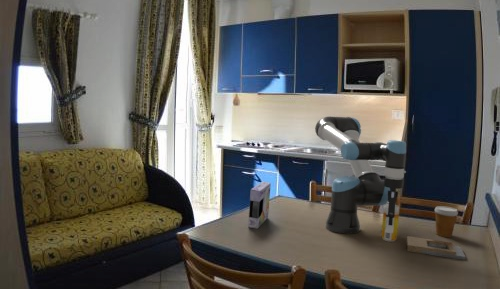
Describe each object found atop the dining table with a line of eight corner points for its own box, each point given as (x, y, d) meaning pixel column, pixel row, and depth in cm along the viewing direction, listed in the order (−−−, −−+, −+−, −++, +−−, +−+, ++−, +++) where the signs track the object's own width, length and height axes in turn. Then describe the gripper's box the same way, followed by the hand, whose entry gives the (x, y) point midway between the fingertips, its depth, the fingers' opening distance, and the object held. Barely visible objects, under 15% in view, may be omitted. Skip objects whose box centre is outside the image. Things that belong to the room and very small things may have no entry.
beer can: (397, 238, 166) (399, 204, 165) (395, 243, 161) (398, 207, 159) (382, 236, 169) (384, 202, 167) (380, 240, 163) (383, 205, 162)
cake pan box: (257, 229, 170) (259, 190, 168) (246, 228, 172) (248, 188, 170) (269, 218, 188) (271, 182, 186) (259, 217, 190) (261, 181, 188)
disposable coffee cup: (458, 239, 169) (461, 212, 168) (435, 237, 171) (437, 210, 170) (452, 232, 178) (454, 207, 177) (429, 230, 180) (432, 205, 179)
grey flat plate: (421, 253, 150) (422, 250, 150) (420, 243, 161) (420, 240, 161) (465, 260, 145) (465, 256, 145) (460, 249, 156) (460, 246, 156)
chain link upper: (407, 250, 152) (407, 244, 152) (406, 241, 163) (407, 236, 163) (455, 258, 146) (456, 252, 146) (451, 248, 157) (451, 242, 157)
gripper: (404, 183, 149) (399, 238, 151) (403, 174, 172) (399, 221, 174) (383, 181, 152) (379, 235, 154) (385, 172, 175) (381, 219, 177)
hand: (389, 228), depth 164 cm, fingers open, 12 cm apart
